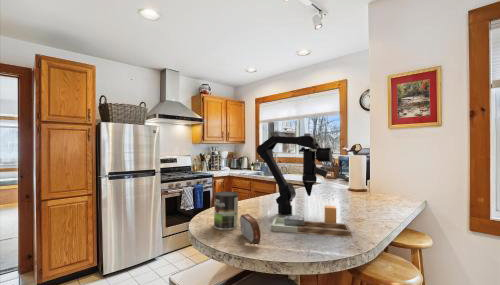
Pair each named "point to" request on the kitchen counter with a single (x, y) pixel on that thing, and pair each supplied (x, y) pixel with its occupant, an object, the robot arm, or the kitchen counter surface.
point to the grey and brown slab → (250, 228)
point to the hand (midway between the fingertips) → (309, 193)
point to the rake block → (330, 214)
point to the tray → (282, 226)
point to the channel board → (325, 229)
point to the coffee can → (226, 210)
